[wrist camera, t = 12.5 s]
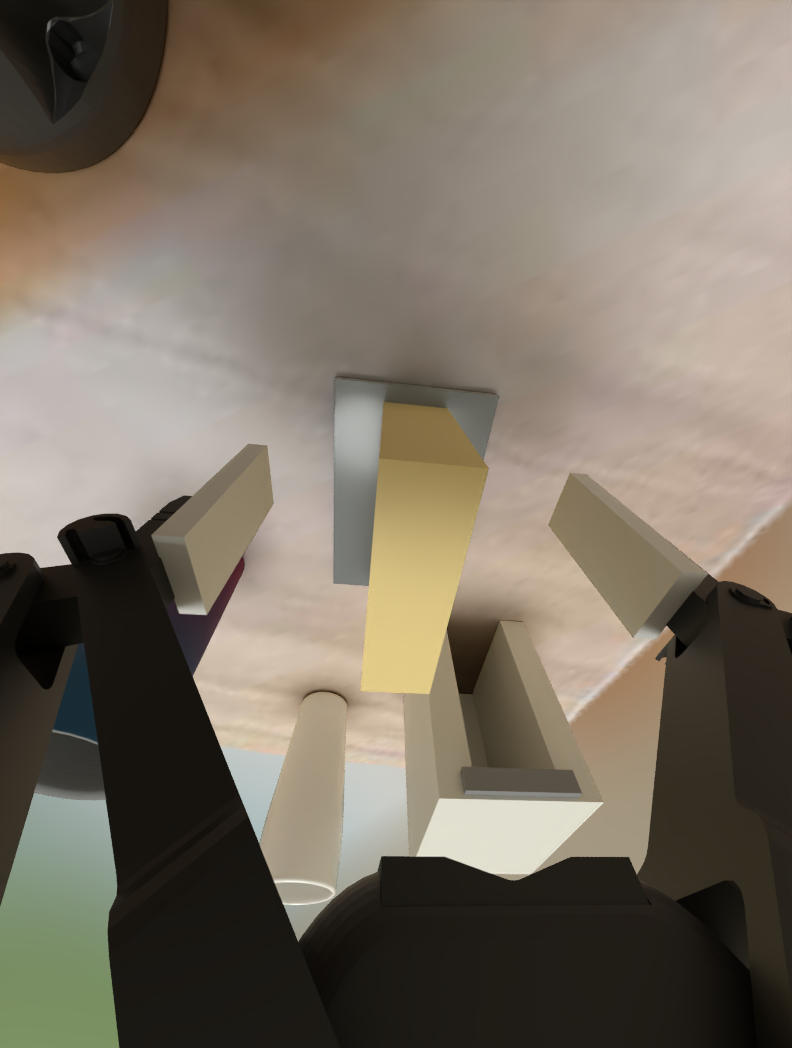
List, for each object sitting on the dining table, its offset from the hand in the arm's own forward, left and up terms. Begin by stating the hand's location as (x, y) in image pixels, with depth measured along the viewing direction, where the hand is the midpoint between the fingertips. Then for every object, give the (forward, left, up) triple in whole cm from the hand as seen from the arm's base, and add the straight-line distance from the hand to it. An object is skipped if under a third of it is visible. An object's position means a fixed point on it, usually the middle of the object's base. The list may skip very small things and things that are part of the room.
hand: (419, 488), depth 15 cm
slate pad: (+5, 0, -9) cm, 10 cm away
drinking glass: (+32, -6, -9) cm, 34 cm away
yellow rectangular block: (+5, 0, -8) cm, 9 cm away
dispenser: (+24, +8, -9) cm, 27 cm away
